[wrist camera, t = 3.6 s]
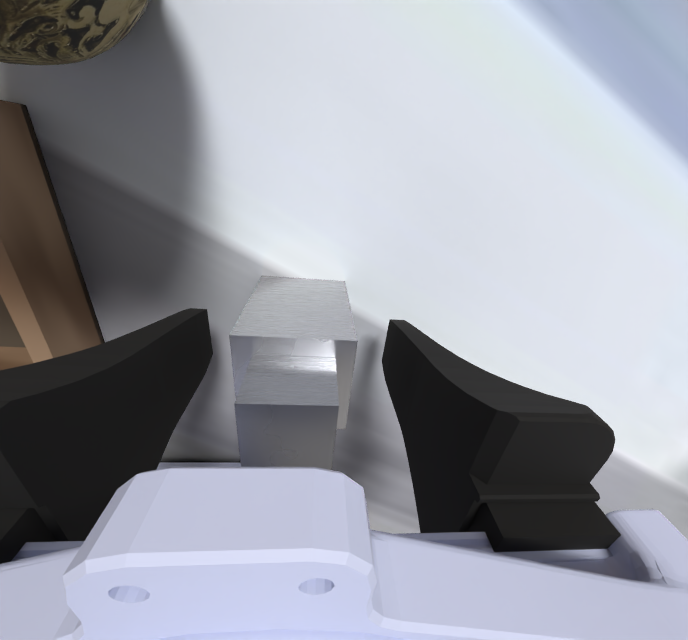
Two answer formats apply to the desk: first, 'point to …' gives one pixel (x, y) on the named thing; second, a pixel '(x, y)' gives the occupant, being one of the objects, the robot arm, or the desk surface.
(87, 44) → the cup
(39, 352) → the socket board
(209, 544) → the robot arm
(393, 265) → the desk surface
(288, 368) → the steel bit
